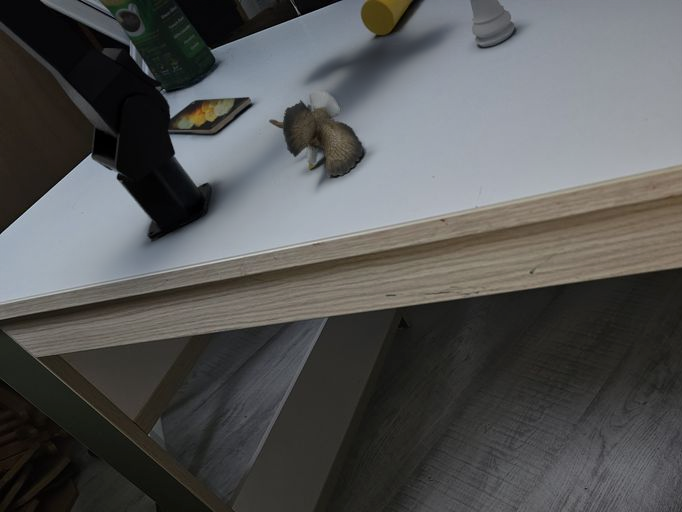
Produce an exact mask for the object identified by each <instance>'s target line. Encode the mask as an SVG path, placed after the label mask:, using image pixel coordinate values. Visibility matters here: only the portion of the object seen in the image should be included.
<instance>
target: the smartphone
mask: <svg viewBox="0 0 682 512" xmlns="http://www.w3.org/2000/svg"><path fill="white" fill-rule="evenodd" d="M251 103H252V100H251V98H250V97H249V96H243V97H226V98H209V99H206V98H205V99H195V100H193V101H192V102H190V103H189V104H187V105H186V106H185V107H184V108H182V109H181V110H180V111H178V112H177V113H176V114H174V116H172V117H170V119H171V120H170V124H169V129H168V132H169V133H193V134H214V133H216V132H218V131H219V130H221V129H222V128H223V127H224V126H226V125H227V124H228V123H229V122H231V121H232V120H233V119H234V118H235V116H236V115H237V114H239V113H240V112H242V111H243V109H245V108H246V107H248V105H249V104H251Z"/></svg>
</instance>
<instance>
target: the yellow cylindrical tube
mask: <svg viewBox="0 0 682 512" xmlns="http://www.w3.org/2000/svg"><path fill="white" fill-rule="evenodd" d="M413 2H415V0H365V1H364V2H363V4H362V6H361V8H360V18H361V21H362V24H363V25H364V26H365V28H366V29H367V30H368V31H369V32H370V33H372V34H374V35H377V36H386V35H389V34H390V33H391V32H392V31H393V29H394V28H395V26H396V25H397V24H398V22H399V21H400V19H401V18H402V16H403V15H404V14H405V12H406V11H407V9H408V8H409V6H410V5H411V3H413Z"/></svg>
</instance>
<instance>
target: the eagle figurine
mask: <svg viewBox="0 0 682 512" xmlns="http://www.w3.org/2000/svg"><path fill="white" fill-rule="evenodd" d="M309 100H310V103H311V104H307V105H306V104H305V103H304V101H302V100H301V99H300V100H299V102H298V103H295V104H294V105H291V106H289V107H286V109H284V114H283V120H282V121H278V120H276V119H269V120H268V122H269V123H270V124H271V125H273V126H275V127H277V128H279V129H282V134H283V137H284V141H285V142H284V143H286V149H287V151H289V153H290V154H291V155H292V156H293V157H294V158H296V157H297V156H299V154H301V152H302V151H304V150H305V149H306V161H307V163H308V169H309V170H312V169H313V166H314V164H316V163H317V158H318V153H319V150H320V148H321V147H322V150H323V152H324V156H325V166H326V168H325V169H326V175H327V176H333V177H337V176H344V175H345V174H348V173H349V172H350V171H351V169H352V168H354V167H355V165H356V162H359V161H360V157H362V155H363V146H362V141H360V139H359V136H357V135H356V133H355V131H354V130H353V127H351V126H350V125H348V124H346V123H344V122H340V121H338V120H335V119H333V118H335V117H337V116H339V115H340V114H341V109H340V106H339V104H338V103H337V100H336V99H335V97H334V96H332V95H331V93H330V92H326V91H323V90H322V91H321V90H320V91H314V92H311V93H310V94H309ZM312 109H313V110H312Z"/></svg>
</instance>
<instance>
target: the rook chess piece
mask: <svg viewBox="0 0 682 512" xmlns="http://www.w3.org/2000/svg"><path fill="white" fill-rule="evenodd" d="M469 2H470V6H471V11H472V26H471V32H472V35H474V36H475V37H474V43H475V44H477V45H479V46H480V47H482V48H483V47H484V48H486V47H493V46H495V45H498V44H501V43H502V42H504V41H505V40H507V39H508V38H510V37H511V36H512V34H513V33H514V30H515V26H516V24H515V22H513V21H511V20H512V14H511V13H510V12H509V11H508V10H506V9H505V7H504V6H503V5H502V4H501V2H499V0H469Z"/></svg>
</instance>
